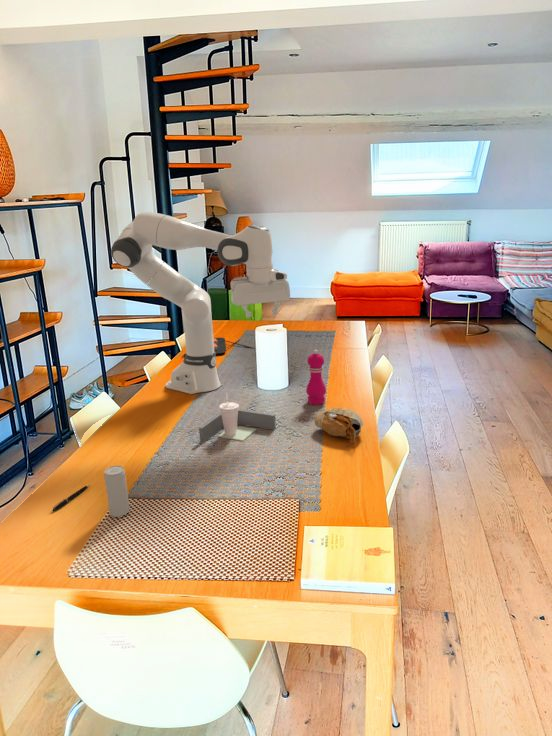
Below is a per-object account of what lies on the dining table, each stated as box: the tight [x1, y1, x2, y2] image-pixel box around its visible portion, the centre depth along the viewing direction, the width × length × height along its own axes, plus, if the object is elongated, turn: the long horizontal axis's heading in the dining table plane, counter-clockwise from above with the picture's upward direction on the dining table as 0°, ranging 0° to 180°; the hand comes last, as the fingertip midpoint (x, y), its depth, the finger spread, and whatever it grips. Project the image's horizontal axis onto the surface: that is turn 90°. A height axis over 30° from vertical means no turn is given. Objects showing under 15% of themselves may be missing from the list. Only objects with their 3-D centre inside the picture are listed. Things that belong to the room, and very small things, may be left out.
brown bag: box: [313, 407, 364, 447], centre depth 176 cm, size 8×22×15 cm
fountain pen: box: [51, 483, 91, 512], centre depth 146 cm, size 14×1×2 cm, turn 157°
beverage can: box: [103, 465, 131, 518], centre depth 137 cm, size 5×5×12 cm
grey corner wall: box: [198, 408, 277, 444], centre depth 180 cm, size 18×18×5 cm
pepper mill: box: [305, 349, 327, 406], centre depth 203 cm, size 7×7×20 cm
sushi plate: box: [213, 337, 256, 355], centre depth 280 cm, size 29×30×4 cm
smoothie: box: [218, 392, 240, 436], centre depth 179 cm, size 6×6×14 cm
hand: (261, 315), depth 191 cm, fingers open, 8 cm apart
